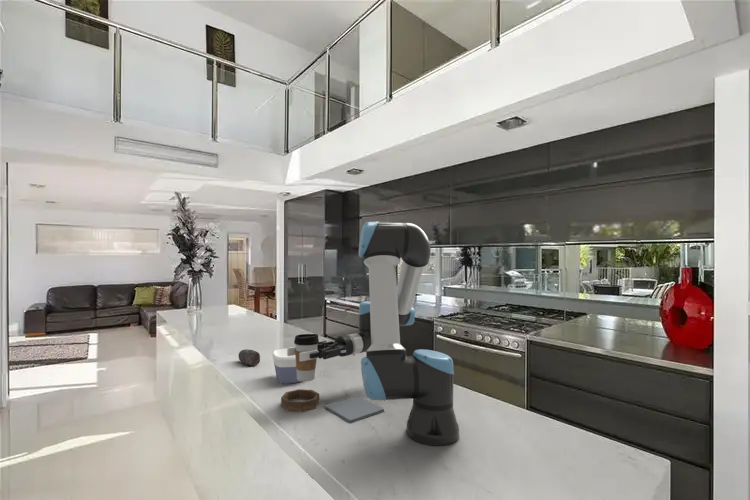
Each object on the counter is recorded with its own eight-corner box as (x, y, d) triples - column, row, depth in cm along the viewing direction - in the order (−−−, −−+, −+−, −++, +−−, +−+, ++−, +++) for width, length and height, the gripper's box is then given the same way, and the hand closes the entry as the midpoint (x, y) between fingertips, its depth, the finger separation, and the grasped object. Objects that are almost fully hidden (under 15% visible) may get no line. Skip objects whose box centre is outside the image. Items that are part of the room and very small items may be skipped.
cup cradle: (324, 405, 124) (324, 396, 124) (292, 414, 116) (293, 405, 116) (306, 395, 133) (307, 387, 133) (276, 403, 125) (276, 394, 126)
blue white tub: (313, 383, 147) (313, 355, 147) (274, 387, 141) (274, 358, 141) (306, 372, 161) (306, 346, 161) (270, 375, 155) (270, 349, 156)
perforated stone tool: (234, 362, 175) (235, 347, 175) (244, 360, 179) (245, 345, 179) (250, 368, 165) (251, 353, 165) (261, 366, 169) (261, 351, 169)
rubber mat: (384, 411, 120) (384, 408, 120) (350, 422, 111) (350, 420, 111) (358, 398, 131) (358, 396, 131) (325, 408, 122) (325, 405, 122)
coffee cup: (313, 383, 120) (314, 338, 120) (289, 381, 121) (290, 336, 122) (321, 375, 128) (322, 333, 128) (298, 374, 130) (299, 331, 130)
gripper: (365, 361, 129) (309, 373, 114) (332, 349, 144) (279, 359, 129) (365, 339, 129) (310, 349, 114) (332, 330, 145) (279, 338, 130)
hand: (293, 354), depth 122 cm, fingers closed on coffee cup, 8 cm apart
